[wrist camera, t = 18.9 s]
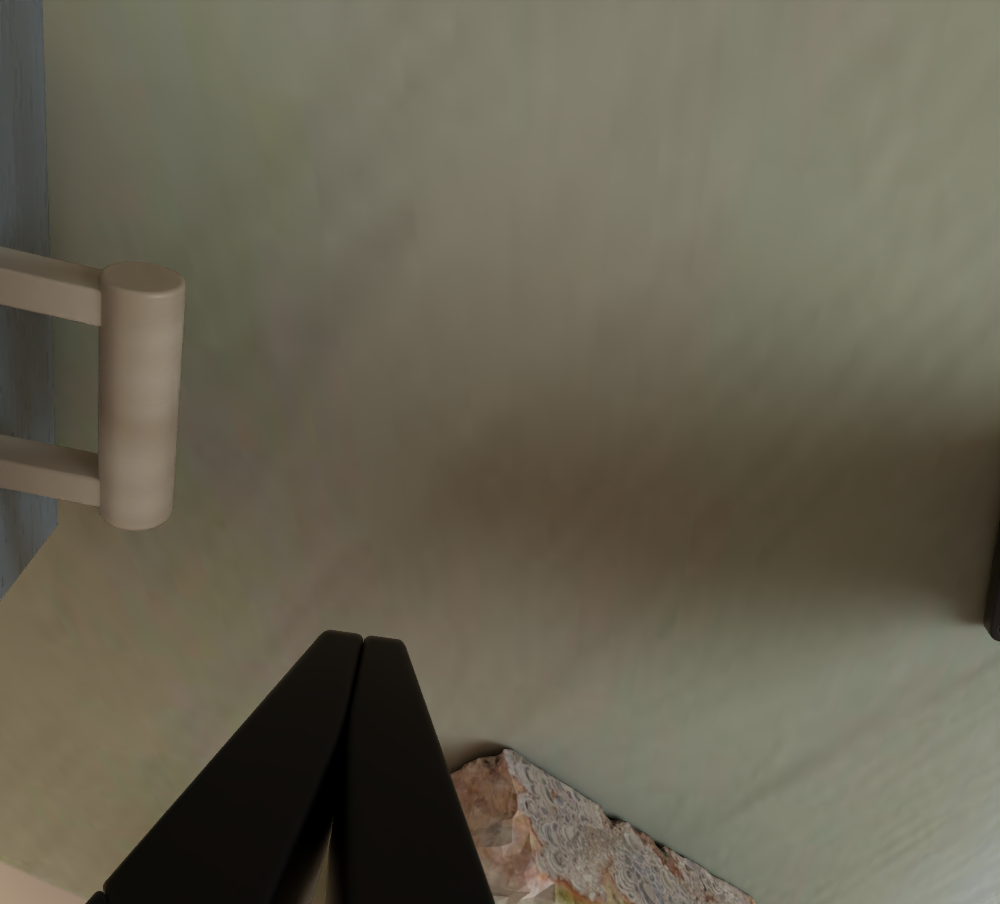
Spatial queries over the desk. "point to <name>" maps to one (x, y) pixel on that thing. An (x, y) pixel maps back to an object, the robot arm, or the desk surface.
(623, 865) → the geological specimen
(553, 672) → the desk surface
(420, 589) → the desk surface
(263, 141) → the desk surface
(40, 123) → the drawer
